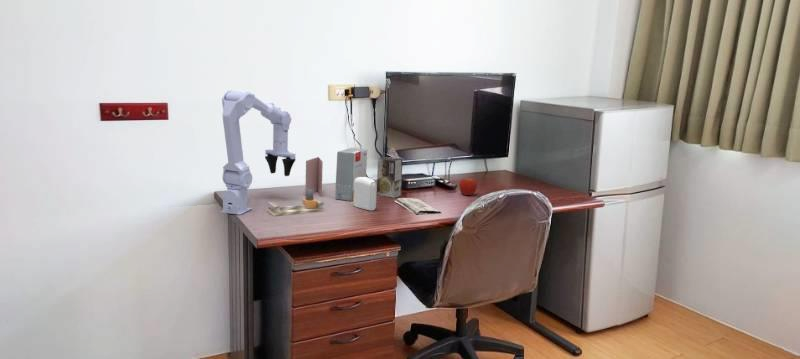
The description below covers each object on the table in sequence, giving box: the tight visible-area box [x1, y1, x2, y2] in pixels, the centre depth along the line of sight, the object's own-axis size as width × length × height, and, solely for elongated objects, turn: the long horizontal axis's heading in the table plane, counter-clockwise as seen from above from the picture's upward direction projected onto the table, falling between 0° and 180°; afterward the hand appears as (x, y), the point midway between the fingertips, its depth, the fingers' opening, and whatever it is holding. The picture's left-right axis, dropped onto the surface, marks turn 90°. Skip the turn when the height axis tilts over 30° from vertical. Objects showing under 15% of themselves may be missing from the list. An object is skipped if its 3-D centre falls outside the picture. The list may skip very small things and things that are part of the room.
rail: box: [266, 198, 325, 217], centre depth 239 cm, size 20×7×4 cm, turn 121°
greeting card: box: [304, 156, 324, 198], centre depth 267 cm, size 11×7×15 cm, turn 161°
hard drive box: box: [334, 147, 368, 202], centre depth 265 cm, size 16×8×20 cm, turn 161°
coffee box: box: [376, 156, 403, 198], centre depth 272 cm, size 9×6×16 cm
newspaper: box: [394, 197, 441, 215], centre depth 255 cm, size 23×12×2 cm, turn 21°
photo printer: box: [352, 176, 377, 211], centre depth 248 cm, size 10×4×12 cm, turn 47°
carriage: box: [301, 189, 317, 208], centre depth 241 cm, size 4×4×7 cm
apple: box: [459, 178, 478, 196], centre depth 281 cm, size 8×8×8 cm
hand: (279, 174), depth 255 cm, fingers open, 7 cm apart
